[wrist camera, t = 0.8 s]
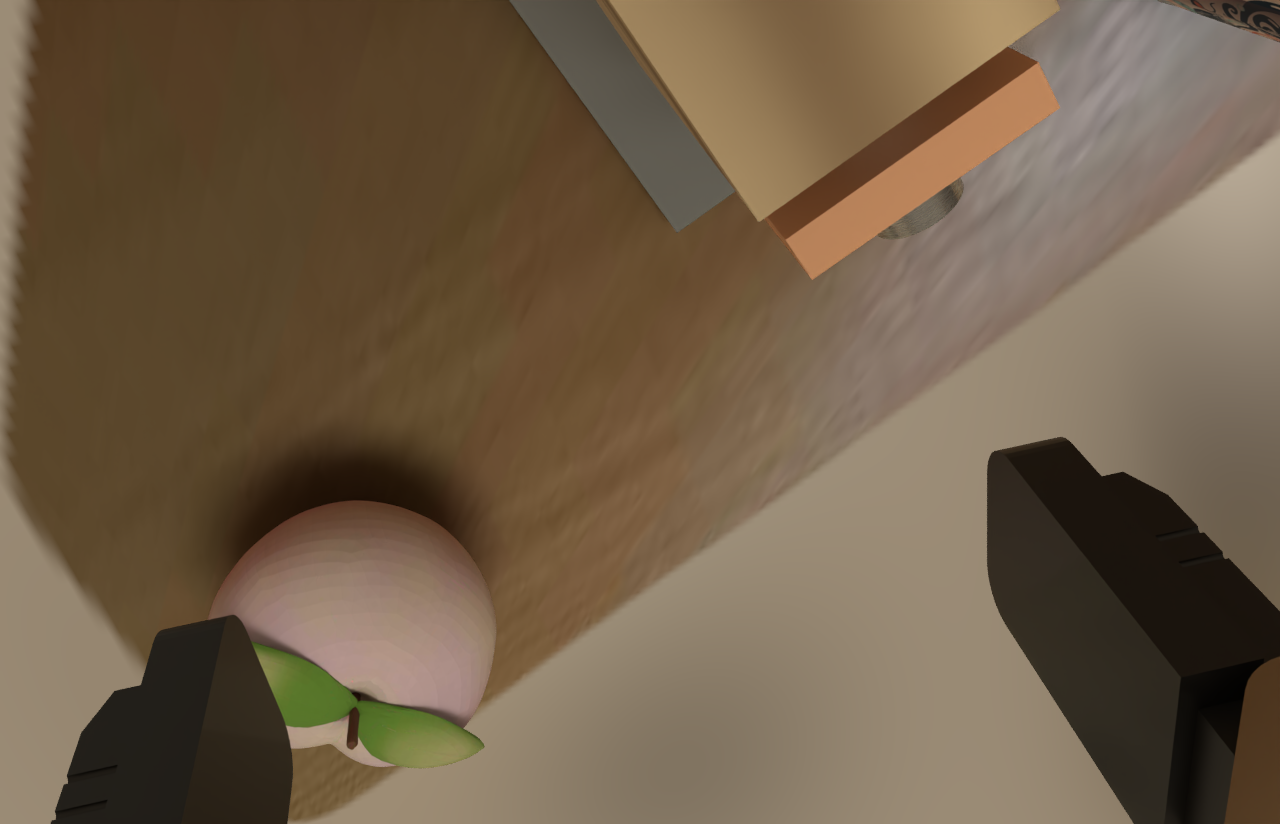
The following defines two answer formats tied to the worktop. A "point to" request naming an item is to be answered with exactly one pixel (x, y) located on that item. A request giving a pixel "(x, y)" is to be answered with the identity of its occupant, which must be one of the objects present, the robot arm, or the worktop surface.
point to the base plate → (627, 107)
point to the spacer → (914, 160)
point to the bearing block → (807, 74)
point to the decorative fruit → (368, 632)
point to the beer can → (1239, 14)
